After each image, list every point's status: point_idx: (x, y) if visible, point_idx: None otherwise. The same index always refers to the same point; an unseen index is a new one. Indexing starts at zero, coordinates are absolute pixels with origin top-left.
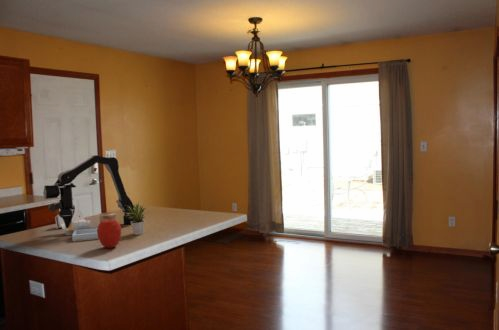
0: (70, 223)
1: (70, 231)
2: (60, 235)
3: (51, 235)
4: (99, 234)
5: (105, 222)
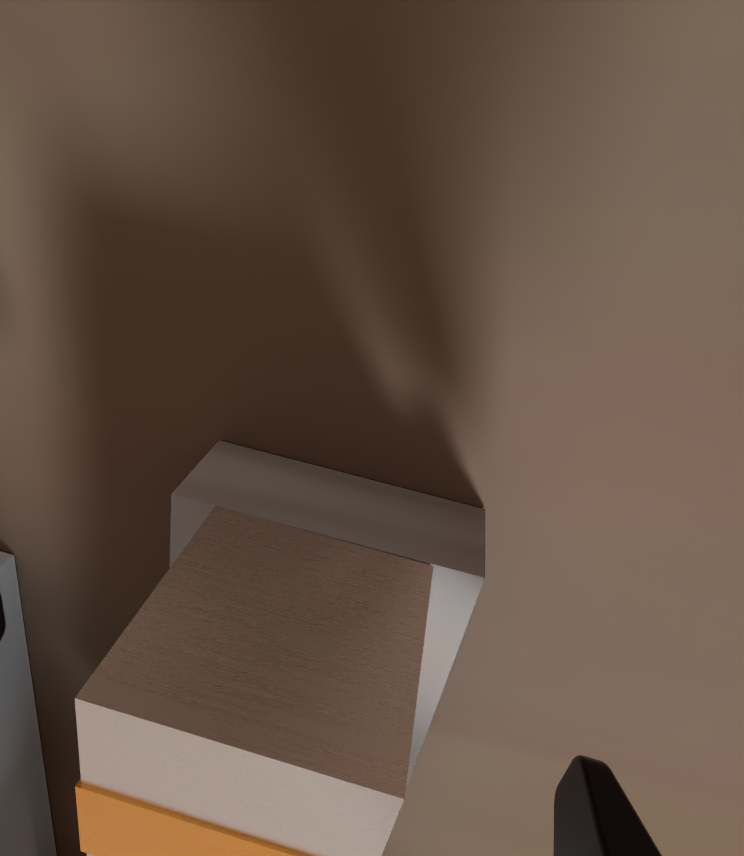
0: (84, 817)
1: None
2: (270, 339)
3: (451, 84)
4: None
5: None
